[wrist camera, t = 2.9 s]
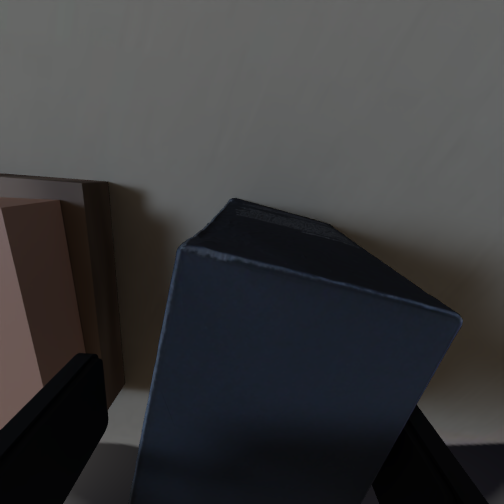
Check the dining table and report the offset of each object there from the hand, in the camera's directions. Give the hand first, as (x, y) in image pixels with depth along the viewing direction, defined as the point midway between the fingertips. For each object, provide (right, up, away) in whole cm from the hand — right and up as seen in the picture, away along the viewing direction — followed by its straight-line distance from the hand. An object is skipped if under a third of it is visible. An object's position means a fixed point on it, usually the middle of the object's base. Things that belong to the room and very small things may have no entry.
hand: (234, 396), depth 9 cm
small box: (+1, +3, +7) cm, 8 cm away
